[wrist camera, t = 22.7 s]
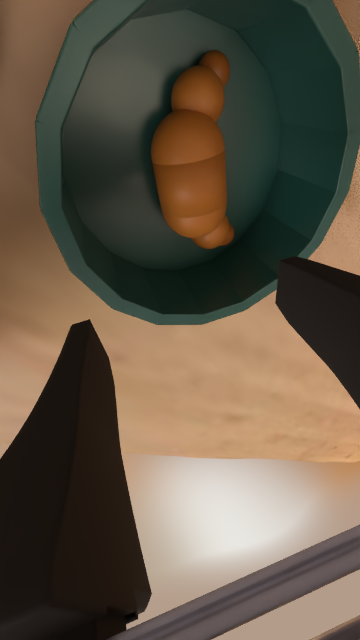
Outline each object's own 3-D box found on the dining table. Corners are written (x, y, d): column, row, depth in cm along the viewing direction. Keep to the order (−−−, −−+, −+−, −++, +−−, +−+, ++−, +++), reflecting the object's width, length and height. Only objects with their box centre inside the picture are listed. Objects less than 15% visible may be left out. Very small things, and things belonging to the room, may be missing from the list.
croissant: (228, 236, 21) (254, 260, 18) (165, 255, 20) (181, 282, 17) (221, 48, 14) (259, 39, 11) (127, 67, 13) (142, 63, 11)
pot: (101, 299, 21) (110, 355, 17) (-19, 19, 12) (-71, -21, 7) (278, 246, 23) (327, 283, 19) (302, -37, 13) (416, -95, 9)
